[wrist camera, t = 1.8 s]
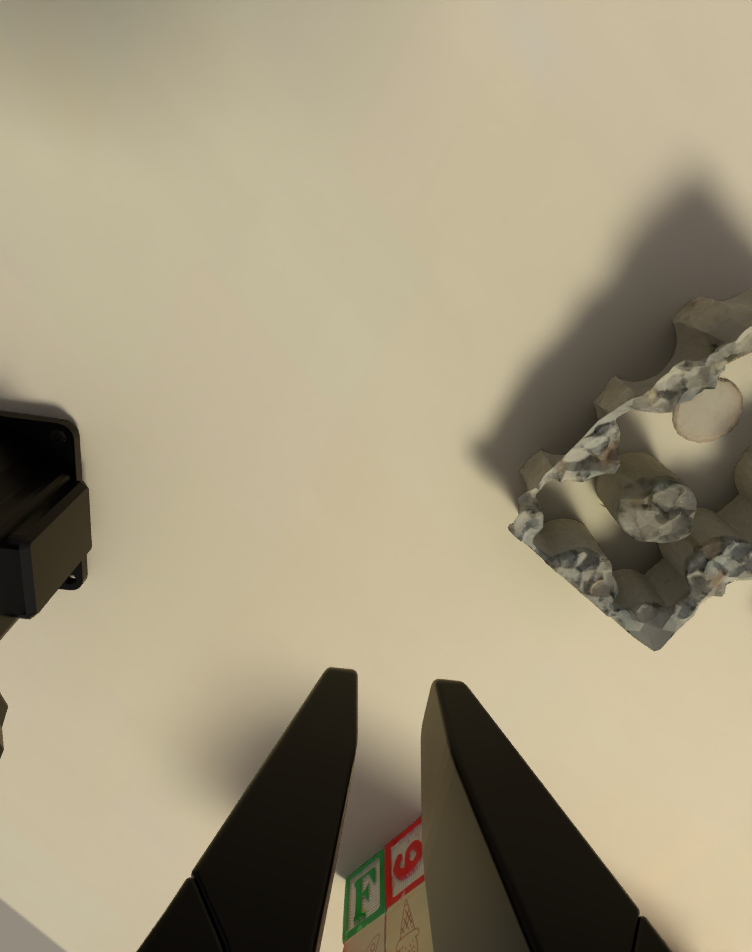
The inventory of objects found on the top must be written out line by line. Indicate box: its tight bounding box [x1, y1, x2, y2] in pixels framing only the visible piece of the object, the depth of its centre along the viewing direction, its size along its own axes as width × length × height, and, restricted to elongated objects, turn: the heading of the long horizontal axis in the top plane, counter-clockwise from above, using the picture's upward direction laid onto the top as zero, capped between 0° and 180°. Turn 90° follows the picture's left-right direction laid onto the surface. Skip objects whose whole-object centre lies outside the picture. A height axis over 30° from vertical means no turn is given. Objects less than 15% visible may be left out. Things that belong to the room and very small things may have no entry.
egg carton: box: [508, 289, 752, 651], centre depth 19 cm, size 11×8×4 cm
